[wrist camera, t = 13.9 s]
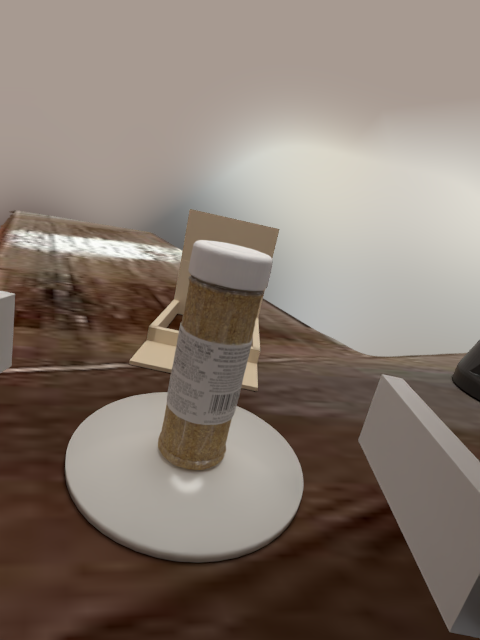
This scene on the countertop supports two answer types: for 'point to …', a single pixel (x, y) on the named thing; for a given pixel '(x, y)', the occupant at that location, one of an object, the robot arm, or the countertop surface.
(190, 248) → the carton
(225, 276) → the spice jar
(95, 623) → the countertop surface
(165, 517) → the stone mat
